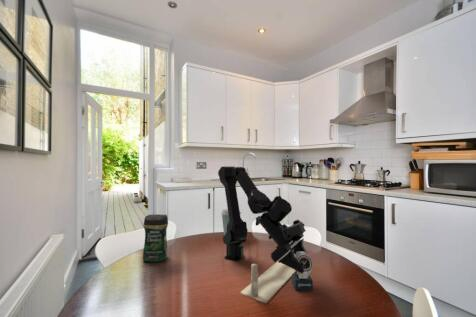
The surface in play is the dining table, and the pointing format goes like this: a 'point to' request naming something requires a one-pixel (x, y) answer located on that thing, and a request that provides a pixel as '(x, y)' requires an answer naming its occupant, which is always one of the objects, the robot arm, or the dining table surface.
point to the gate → (267, 281)
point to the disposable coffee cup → (225, 219)
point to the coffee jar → (155, 238)
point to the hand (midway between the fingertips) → (306, 267)
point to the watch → (303, 279)
